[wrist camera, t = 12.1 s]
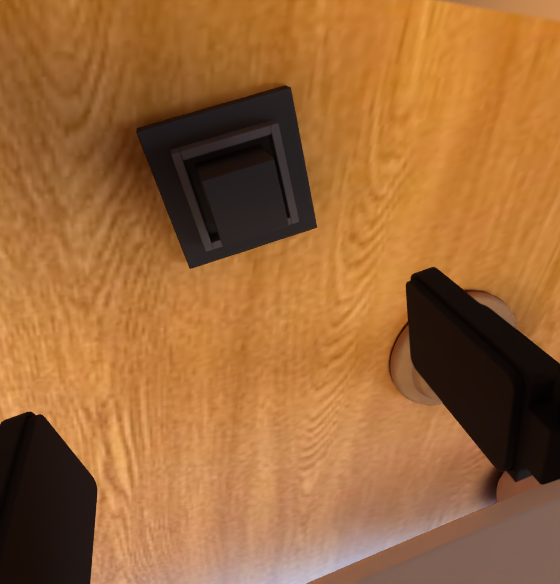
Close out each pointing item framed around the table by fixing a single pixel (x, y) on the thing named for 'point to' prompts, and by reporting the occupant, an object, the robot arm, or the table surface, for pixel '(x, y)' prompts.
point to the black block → (243, 194)
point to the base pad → (217, 142)
